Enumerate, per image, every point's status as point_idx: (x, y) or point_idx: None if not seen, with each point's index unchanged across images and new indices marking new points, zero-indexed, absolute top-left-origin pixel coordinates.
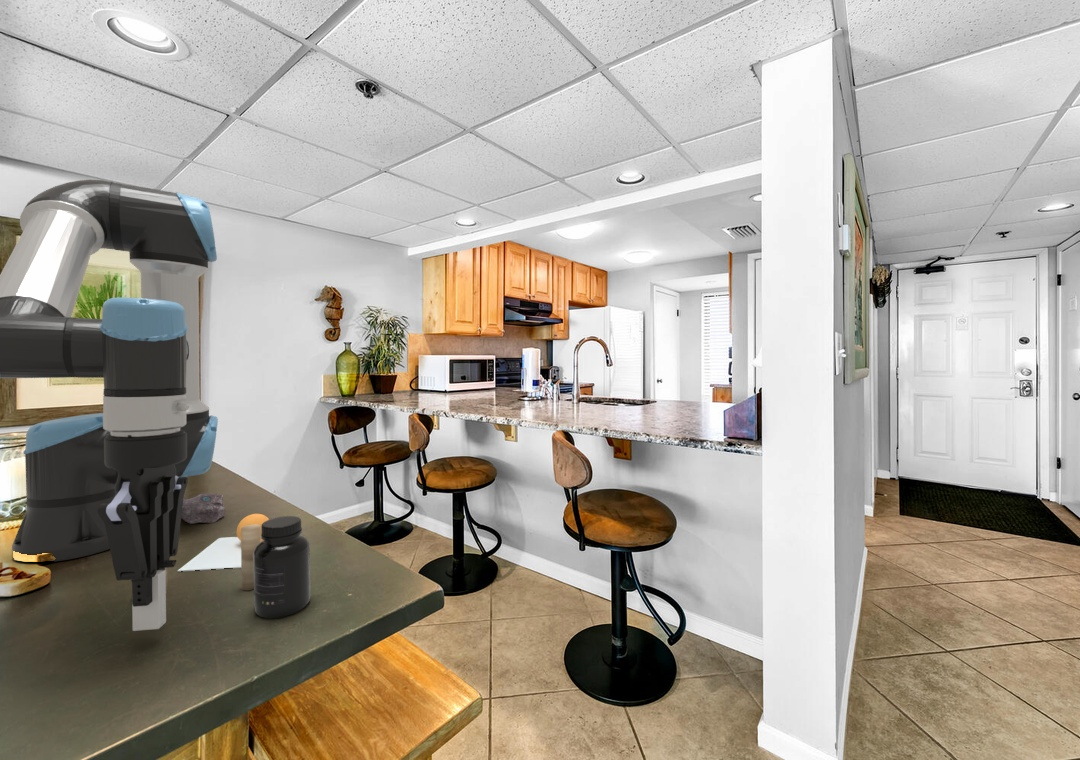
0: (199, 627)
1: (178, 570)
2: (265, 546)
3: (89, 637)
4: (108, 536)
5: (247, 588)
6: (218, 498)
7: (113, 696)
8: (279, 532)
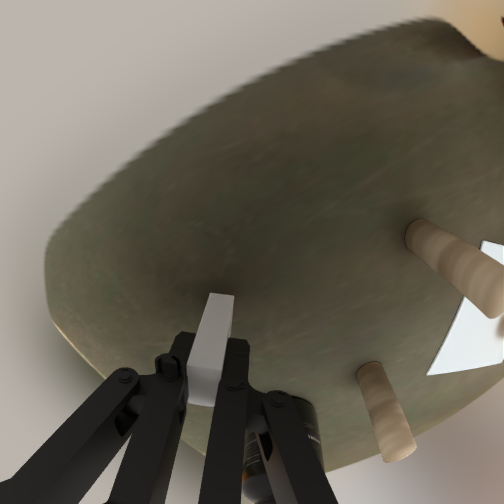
0: (252, 348)
1: (483, 242)
2: (259, 493)
3: (272, 190)
4: (34, 455)
5: (358, 374)
6: None
7: (104, 300)
8: None
